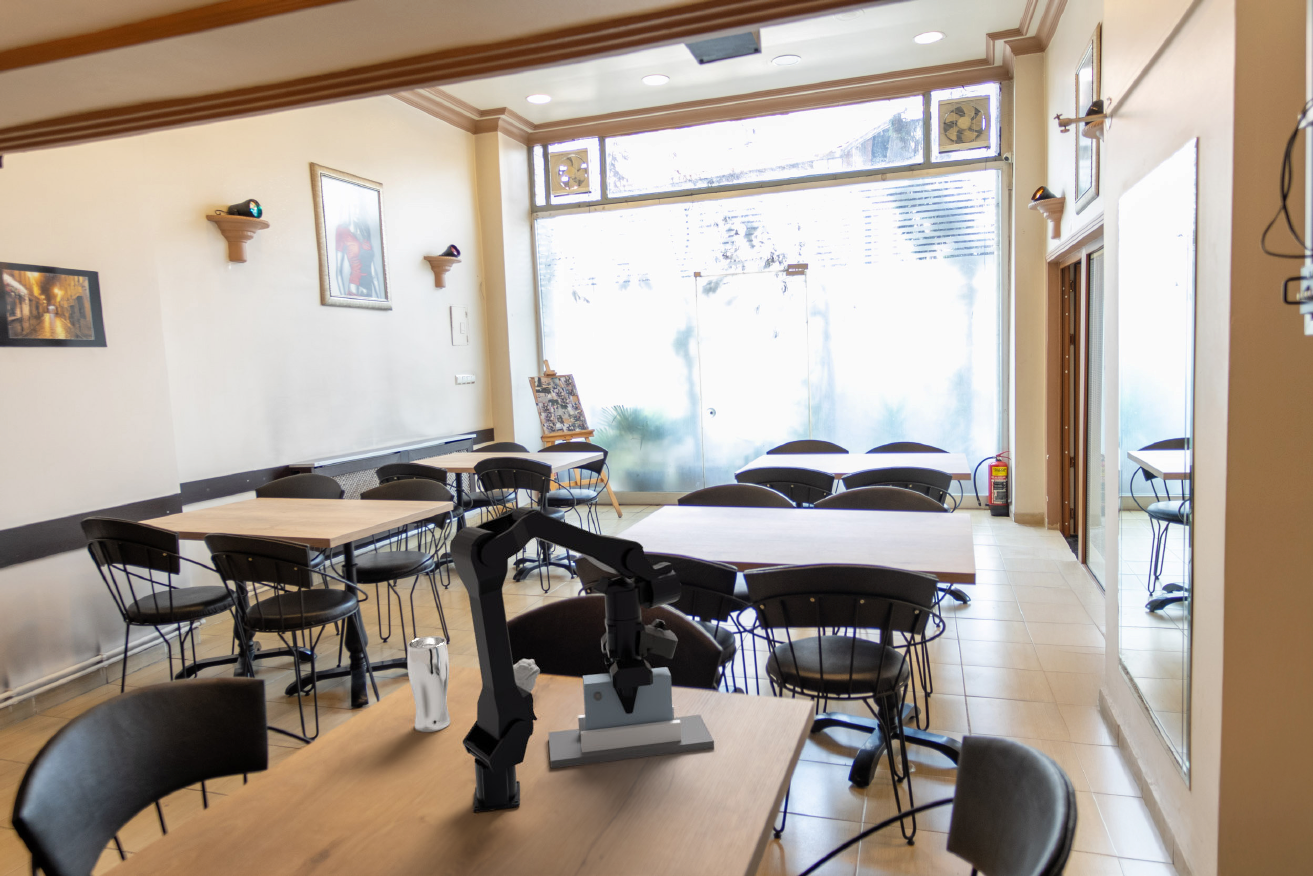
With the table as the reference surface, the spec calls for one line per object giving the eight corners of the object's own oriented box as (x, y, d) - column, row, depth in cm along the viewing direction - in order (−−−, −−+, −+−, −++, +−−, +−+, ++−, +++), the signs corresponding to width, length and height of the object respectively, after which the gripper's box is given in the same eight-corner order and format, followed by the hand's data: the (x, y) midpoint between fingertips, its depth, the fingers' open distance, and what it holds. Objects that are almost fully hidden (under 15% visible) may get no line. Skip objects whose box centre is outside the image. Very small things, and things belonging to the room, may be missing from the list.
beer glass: (441, 734, 138) (435, 649, 136) (404, 732, 139) (398, 648, 138) (459, 717, 144) (454, 636, 143) (424, 715, 146) (418, 635, 144)
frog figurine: (527, 704, 149) (525, 667, 148) (499, 697, 152) (497, 661, 152) (548, 692, 154) (546, 656, 153) (520, 685, 158) (518, 651, 157)
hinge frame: (714, 748, 129) (713, 722, 128) (551, 768, 124) (549, 742, 124) (700, 721, 138) (699, 697, 138) (548, 739, 134) (547, 715, 134)
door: (674, 733, 130) (671, 676, 129) (587, 744, 128) (584, 685, 127) (669, 722, 134) (667, 667, 133) (585, 732, 132) (582, 675, 131)
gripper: (683, 628, 122) (687, 727, 123) (662, 595, 140) (666, 681, 141) (610, 635, 120) (615, 736, 121) (598, 600, 138) (603, 688, 139)
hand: (627, 708), depth 131 cm, fingers closed on door, 3 cm apart
